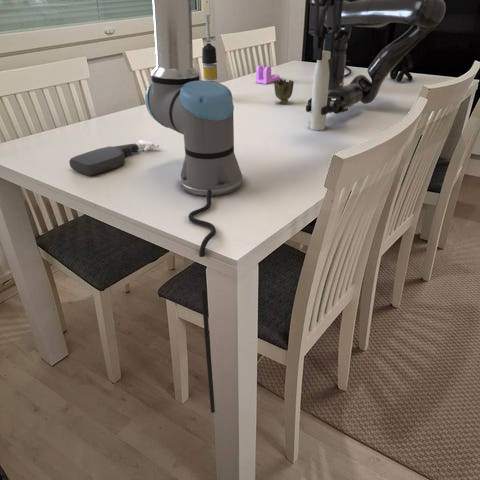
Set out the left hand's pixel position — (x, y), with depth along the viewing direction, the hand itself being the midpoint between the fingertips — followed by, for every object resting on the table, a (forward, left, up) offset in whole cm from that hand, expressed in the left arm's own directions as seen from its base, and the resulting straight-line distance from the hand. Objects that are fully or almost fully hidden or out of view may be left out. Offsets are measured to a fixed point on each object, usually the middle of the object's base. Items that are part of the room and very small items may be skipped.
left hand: (322, 58), depth 134 cm
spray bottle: (-44, +48, -21) cm, 68 cm away
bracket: (+61, +34, -21) cm, 73 cm away
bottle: (0, 0, -21) cm, 21 cm away
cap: (0, 0, +2) cm, 2 cm away
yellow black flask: (+24, +48, -21) cm, 58 cm away
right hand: (-3, +1, -15) cm, 15 cm away
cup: (+26, +18, -21) cm, 38 cm away
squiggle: (+77, -22, -21) cm, 83 cm away
